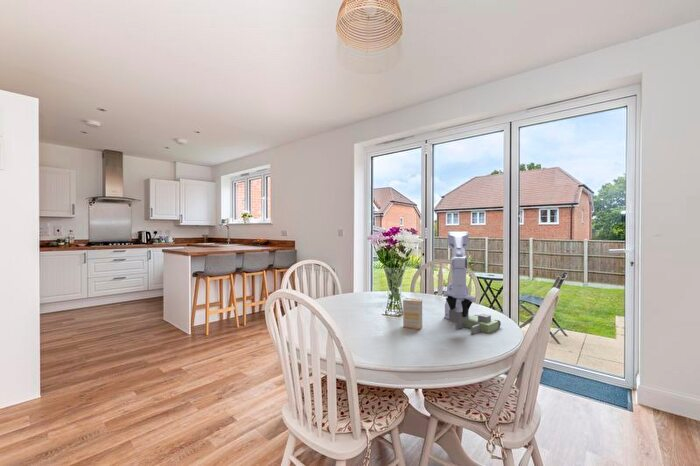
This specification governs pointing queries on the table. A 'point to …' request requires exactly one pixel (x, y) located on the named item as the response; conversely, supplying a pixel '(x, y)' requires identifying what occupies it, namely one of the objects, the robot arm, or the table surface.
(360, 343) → the table surface
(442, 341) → the table surface
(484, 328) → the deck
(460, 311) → the grey block
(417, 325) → the supplement box
